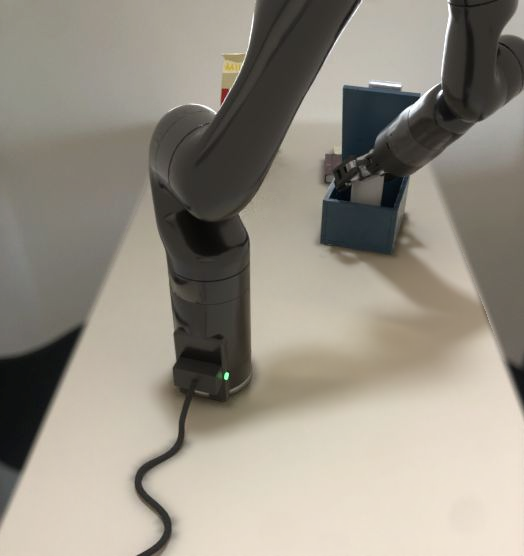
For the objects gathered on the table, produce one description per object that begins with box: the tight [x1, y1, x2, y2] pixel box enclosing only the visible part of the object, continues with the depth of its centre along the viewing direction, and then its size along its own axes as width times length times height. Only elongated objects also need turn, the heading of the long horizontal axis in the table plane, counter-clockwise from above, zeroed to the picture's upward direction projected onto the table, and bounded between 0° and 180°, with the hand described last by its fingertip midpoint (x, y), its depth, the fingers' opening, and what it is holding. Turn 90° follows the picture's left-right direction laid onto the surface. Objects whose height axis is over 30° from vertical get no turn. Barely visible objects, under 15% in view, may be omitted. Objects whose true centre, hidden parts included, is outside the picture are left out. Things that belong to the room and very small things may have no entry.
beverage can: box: [350, 157, 384, 206], centre depth 107 cm, size 5×5×12 cm
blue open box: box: [319, 175, 411, 256], centre depth 111 cm, size 14×12×8 cm
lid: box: [341, 79, 422, 162], centre depth 108 cm, size 14×12×5 cm
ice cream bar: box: [323, 145, 342, 184], centre depth 130 cm, size 5×2×15 cm
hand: (361, 181), depth 107 cm, fingers open, 8 cm apart
